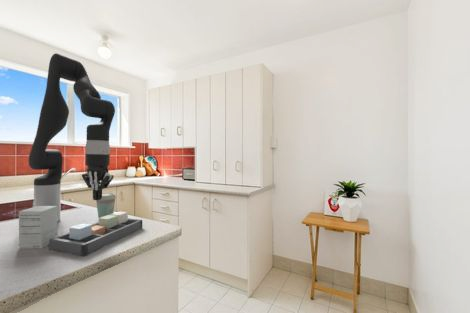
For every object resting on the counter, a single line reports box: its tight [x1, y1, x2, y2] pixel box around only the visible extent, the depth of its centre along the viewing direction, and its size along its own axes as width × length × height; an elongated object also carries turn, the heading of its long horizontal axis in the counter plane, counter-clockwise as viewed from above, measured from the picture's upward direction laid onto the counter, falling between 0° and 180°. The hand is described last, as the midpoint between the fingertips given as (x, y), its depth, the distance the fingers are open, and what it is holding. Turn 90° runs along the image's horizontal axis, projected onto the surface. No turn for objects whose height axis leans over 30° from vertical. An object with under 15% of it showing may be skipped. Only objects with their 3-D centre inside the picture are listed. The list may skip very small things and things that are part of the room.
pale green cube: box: [98, 215, 117, 229], centre depth 83 cm, size 4×4×4 cm
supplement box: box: [18, 206, 59, 250], centre depth 74 cm, size 7×7×13 cm
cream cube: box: [111, 211, 129, 224], centre depth 88 cm, size 4×4×4 cm
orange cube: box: [92, 225, 105, 235], centre depth 78 cm, size 4×4×4 cm
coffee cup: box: [95, 192, 117, 219], centre depth 102 cm, size 9×8×12 cm
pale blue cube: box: [68, 223, 92, 240], centre depth 72 cm, size 4×4×4 cm
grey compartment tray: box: [48, 218, 143, 257], centre depth 80 cm, size 15×26×4 cm, turn 164°
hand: (97, 199), depth 78 cm, fingers closed
